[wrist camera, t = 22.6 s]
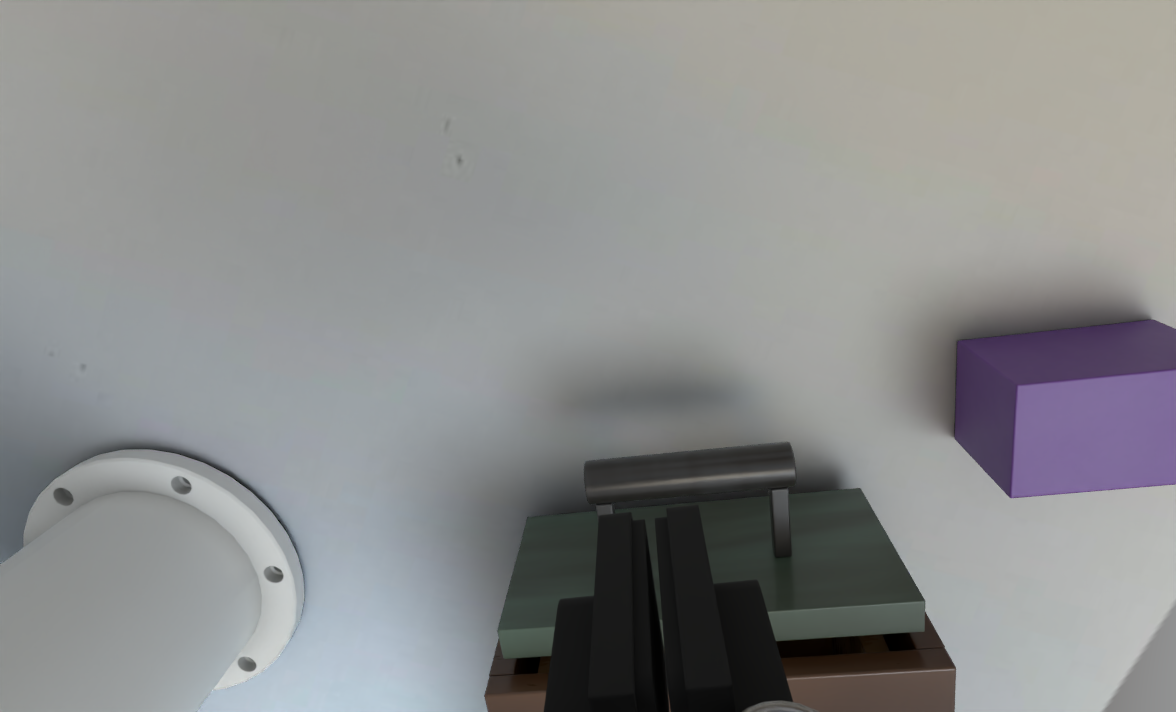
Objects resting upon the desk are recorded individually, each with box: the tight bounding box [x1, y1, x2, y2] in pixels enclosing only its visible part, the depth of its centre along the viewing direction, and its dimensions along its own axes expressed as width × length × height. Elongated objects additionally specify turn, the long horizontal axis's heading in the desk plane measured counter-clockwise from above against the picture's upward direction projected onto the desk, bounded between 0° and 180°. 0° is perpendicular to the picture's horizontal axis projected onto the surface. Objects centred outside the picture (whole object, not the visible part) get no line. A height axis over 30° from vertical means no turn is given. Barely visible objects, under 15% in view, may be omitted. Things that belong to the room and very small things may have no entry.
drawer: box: [497, 442, 925, 673], centre depth 28 cm, size 22×14×7 cm, turn 8°
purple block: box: [955, 320, 1176, 498], centre depth 25 cm, size 7×4×5 cm, turn 98°
